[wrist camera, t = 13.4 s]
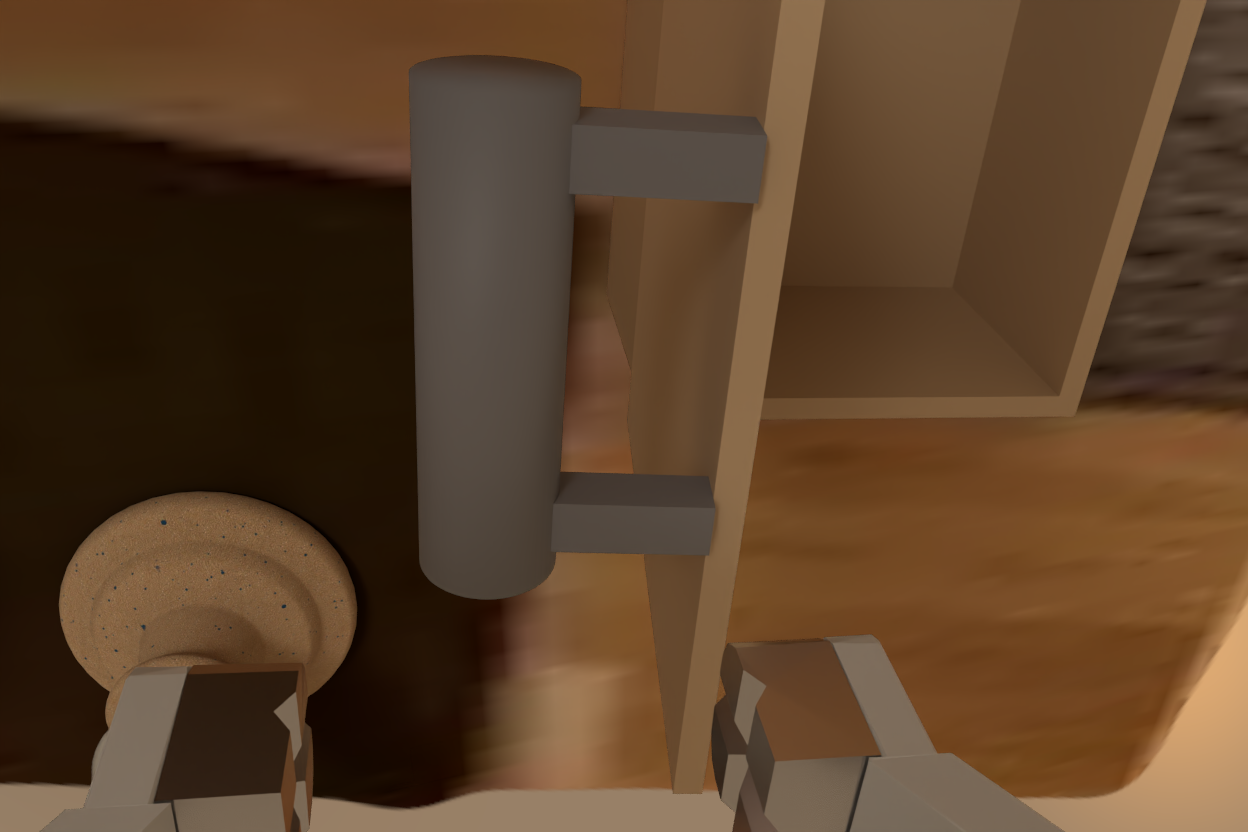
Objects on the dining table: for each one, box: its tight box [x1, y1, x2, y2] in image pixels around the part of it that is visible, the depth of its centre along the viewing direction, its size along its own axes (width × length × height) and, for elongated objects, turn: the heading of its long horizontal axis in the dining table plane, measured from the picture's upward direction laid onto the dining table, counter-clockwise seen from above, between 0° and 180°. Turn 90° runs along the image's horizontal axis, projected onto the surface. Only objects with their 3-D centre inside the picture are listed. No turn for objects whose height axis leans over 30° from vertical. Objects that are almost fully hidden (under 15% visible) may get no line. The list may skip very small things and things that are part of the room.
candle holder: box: [59, 491, 357, 780], centre depth 41 cm, size 12×12×20 cm
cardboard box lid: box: [409, 0, 825, 794], centre depth 24 cm, size 20×16×6 cm
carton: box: [607, 0, 1207, 420], centre depth 37 cm, size 20×15×10 cm
